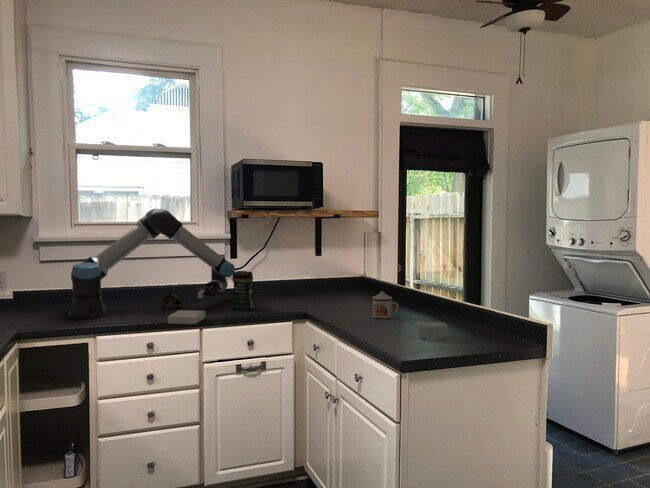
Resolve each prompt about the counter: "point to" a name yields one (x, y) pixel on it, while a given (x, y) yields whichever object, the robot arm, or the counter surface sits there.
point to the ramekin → (431, 329)
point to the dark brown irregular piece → (173, 298)
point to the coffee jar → (242, 290)
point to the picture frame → (186, 317)
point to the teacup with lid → (383, 306)
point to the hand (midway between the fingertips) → (199, 295)
